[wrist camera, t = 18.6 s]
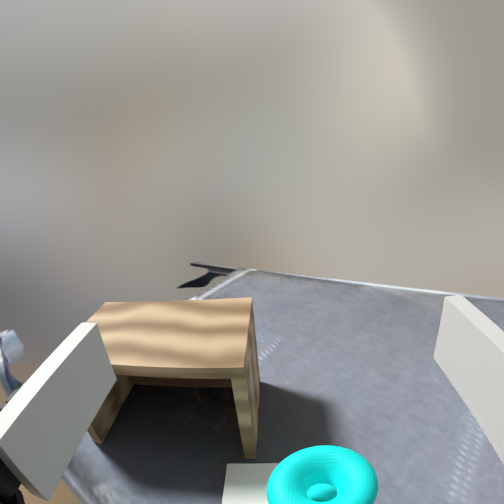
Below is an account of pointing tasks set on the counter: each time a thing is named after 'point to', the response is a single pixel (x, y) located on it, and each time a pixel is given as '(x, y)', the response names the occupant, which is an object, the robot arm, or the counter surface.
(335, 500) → the donuts
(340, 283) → the counter surface
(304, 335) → the counter surface
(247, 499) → the platter
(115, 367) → the tunnel
